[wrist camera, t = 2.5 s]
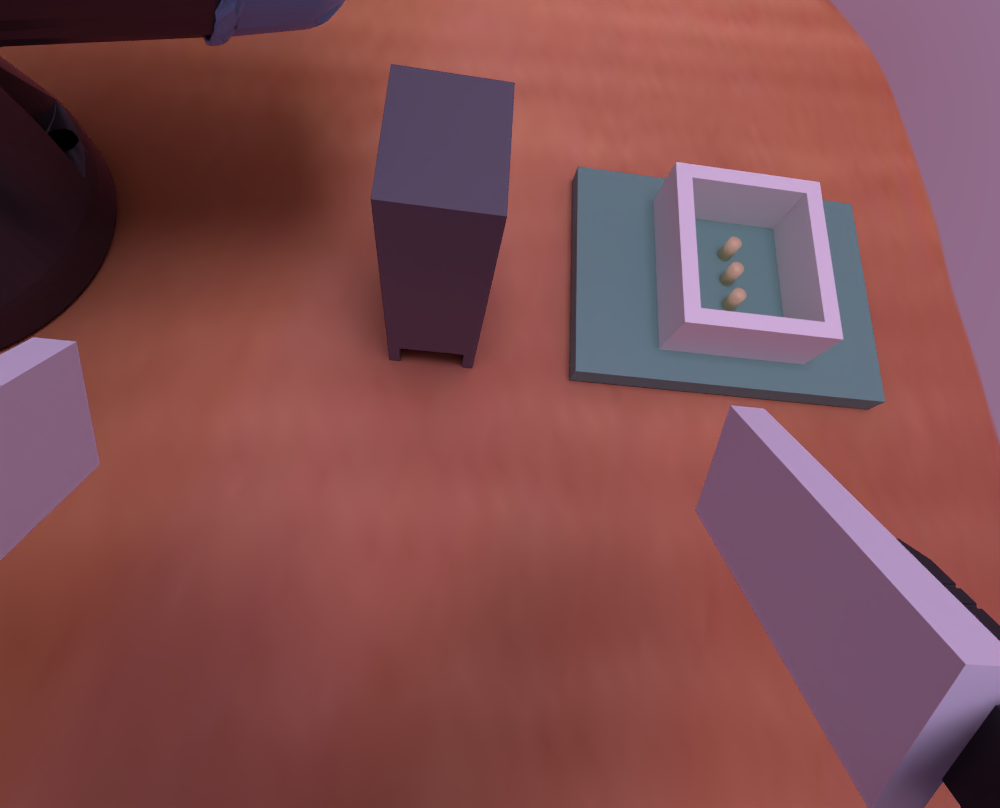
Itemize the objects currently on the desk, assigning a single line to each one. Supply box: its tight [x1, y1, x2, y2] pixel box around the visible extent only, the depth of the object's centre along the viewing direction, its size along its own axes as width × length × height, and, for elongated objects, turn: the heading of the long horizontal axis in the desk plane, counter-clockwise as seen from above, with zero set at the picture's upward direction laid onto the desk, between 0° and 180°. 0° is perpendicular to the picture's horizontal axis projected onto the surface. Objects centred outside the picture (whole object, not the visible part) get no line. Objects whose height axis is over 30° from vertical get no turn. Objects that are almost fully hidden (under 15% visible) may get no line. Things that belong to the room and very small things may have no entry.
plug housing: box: [371, 64, 515, 368], centre depth 24 cm, size 4×5×12 cm
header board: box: [570, 162, 885, 409], centre depth 30 cm, size 16×12×4 cm
